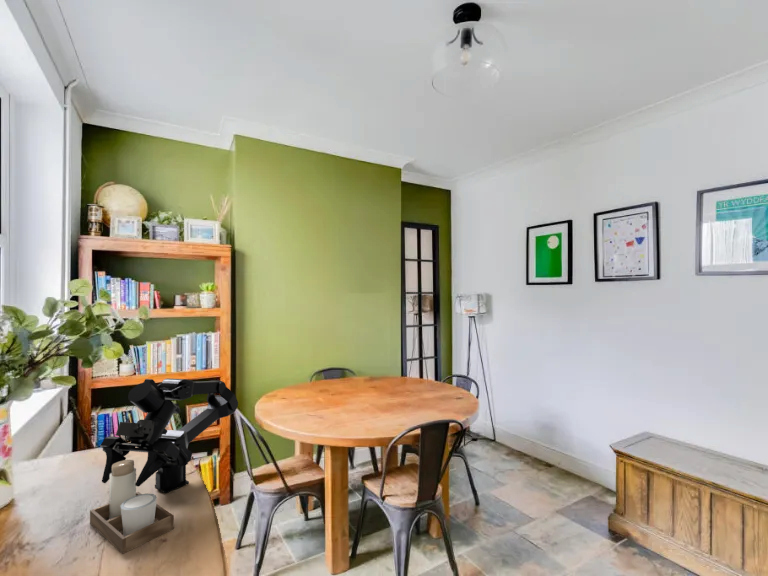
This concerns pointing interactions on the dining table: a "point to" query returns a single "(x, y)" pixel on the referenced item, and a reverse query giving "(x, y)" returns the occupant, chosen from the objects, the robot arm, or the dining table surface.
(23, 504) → the dining table surface
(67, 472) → the dining table surface
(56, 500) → the dining table surface
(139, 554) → the dining table surface
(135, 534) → the walnut caddy
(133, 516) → the white cup
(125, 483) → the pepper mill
